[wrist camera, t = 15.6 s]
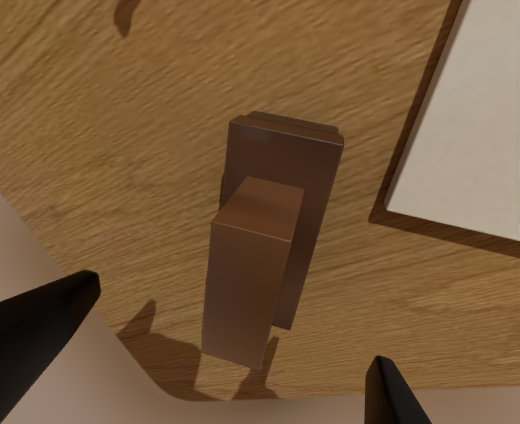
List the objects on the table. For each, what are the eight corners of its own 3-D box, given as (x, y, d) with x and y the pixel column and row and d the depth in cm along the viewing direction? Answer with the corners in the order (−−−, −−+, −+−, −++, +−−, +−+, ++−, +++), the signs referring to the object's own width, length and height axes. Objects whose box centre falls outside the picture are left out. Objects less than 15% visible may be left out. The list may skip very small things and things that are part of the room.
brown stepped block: (296, 292, 18) (276, 409, 12) (228, 273, 19) (175, 376, 13) (343, 128, 13) (348, 184, 7) (249, 109, 14) (180, 146, 8)
